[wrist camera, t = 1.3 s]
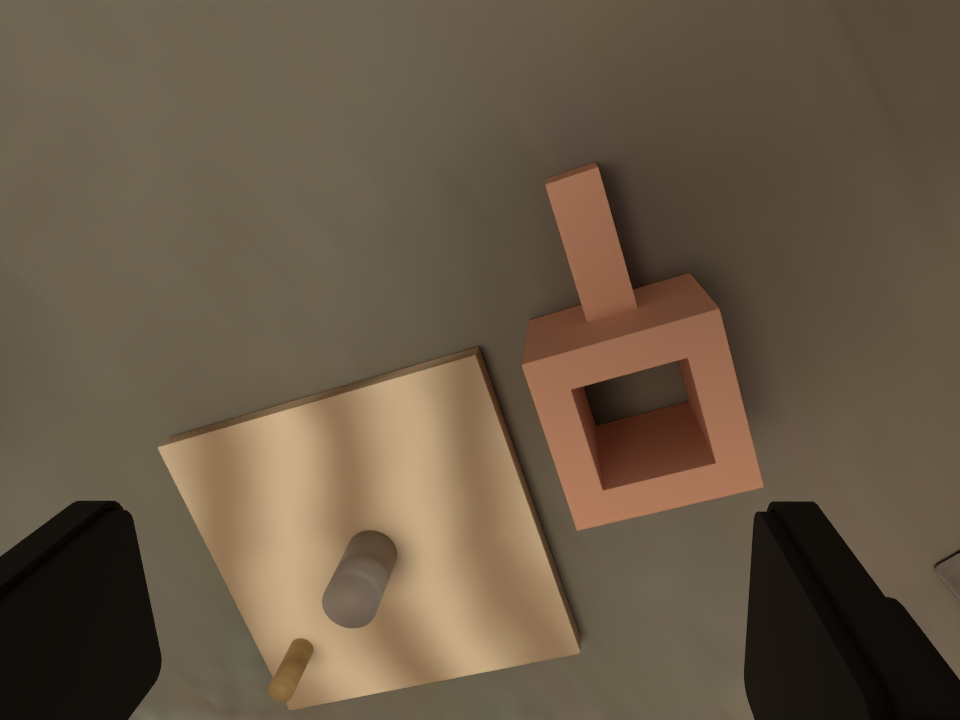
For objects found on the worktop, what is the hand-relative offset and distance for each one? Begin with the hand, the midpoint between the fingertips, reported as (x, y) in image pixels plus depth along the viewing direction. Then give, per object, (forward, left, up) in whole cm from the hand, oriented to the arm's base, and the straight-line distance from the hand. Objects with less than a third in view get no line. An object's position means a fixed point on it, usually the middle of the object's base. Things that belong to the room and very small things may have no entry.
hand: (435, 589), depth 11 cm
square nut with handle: (-3, +2, -21) cm, 22 cm away
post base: (+11, +10, -21) cm, 26 cm away
